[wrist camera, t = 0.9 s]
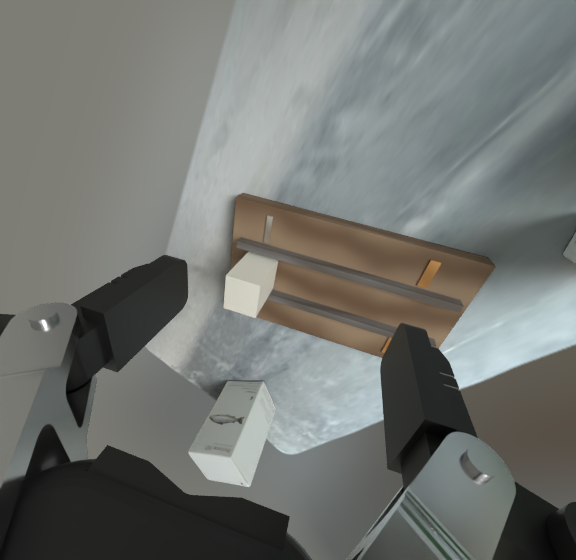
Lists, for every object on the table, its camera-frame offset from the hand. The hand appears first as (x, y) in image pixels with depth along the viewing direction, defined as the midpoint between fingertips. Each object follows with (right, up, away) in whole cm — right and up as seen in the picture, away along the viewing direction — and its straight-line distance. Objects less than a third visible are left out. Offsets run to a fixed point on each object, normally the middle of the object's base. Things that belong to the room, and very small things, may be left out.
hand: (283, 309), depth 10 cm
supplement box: (-6, -19, +38) cm, 43 cm away
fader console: (+6, +1, +22) cm, 23 cm away
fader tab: (-3, +2, +21) cm, 22 cm away
